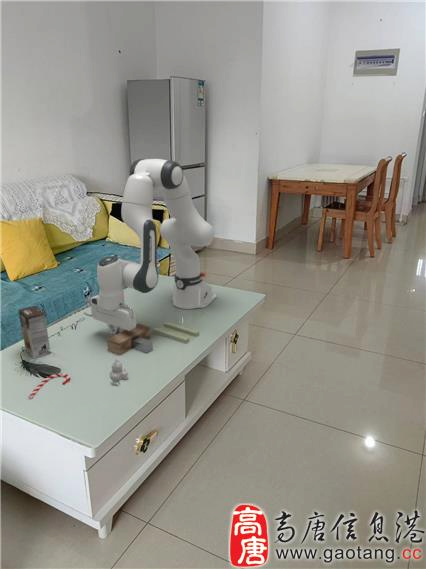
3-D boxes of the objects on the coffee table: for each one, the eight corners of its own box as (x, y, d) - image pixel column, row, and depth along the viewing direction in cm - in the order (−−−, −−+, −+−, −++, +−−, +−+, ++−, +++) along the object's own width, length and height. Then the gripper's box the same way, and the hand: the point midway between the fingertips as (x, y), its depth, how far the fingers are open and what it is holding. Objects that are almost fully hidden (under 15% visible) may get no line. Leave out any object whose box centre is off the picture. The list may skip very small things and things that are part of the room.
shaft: (121, 338, 165) (120, 330, 164) (152, 349, 157) (152, 341, 156) (115, 341, 163) (114, 333, 162) (146, 353, 154) (146, 345, 153)
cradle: (167, 328, 177) (167, 321, 176) (199, 338, 168) (199, 331, 167) (153, 336, 170) (153, 329, 169) (185, 347, 162) (185, 340, 161)
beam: (139, 337, 169) (138, 323, 167) (150, 341, 166) (149, 327, 164) (108, 354, 157) (106, 339, 155) (120, 358, 154) (118, 343, 152)
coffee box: (24, 349, 160) (17, 309, 155) (42, 344, 164) (36, 304, 159) (33, 359, 154) (26, 317, 148) (51, 353, 158) (45, 312, 152)
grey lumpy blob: (116, 374, 144) (114, 353, 142) (133, 378, 142) (131, 357, 139) (106, 382, 140) (103, 360, 137) (123, 387, 137) (121, 365, 134)
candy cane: (20, 394, 132) (56, 370, 145) (21, 397, 133) (56, 373, 146) (40, 400, 129) (74, 375, 142) (40, 404, 130) (75, 378, 143)
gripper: (138, 304, 157) (141, 338, 161) (99, 292, 167) (103, 325, 172) (126, 310, 152) (129, 345, 156) (86, 297, 163) (90, 331, 167)
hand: (115, 334), depth 164 cm, fingers closed
